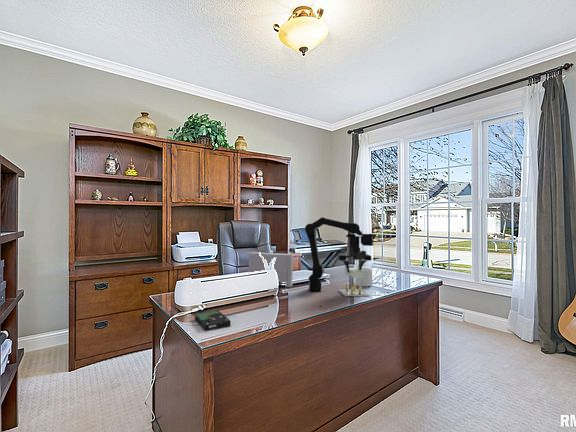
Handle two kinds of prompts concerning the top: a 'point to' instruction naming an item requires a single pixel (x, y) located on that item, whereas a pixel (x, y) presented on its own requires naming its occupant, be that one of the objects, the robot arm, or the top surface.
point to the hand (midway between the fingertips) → (353, 272)
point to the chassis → (353, 291)
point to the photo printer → (365, 277)
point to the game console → (281, 265)
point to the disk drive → (212, 320)
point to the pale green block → (354, 273)
